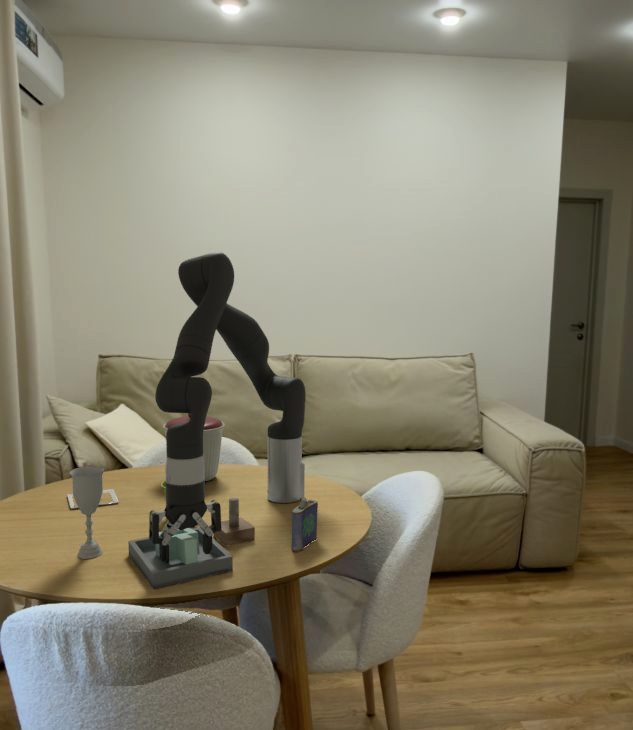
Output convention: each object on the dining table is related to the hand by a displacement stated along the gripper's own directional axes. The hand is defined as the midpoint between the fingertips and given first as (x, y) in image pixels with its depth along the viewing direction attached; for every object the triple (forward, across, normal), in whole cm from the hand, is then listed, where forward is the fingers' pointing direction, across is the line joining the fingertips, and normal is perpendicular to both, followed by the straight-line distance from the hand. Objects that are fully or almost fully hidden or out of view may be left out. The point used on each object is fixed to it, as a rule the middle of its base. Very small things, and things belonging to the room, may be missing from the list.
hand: (186, 557), depth 124 cm
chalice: (+3, +15, -18) cm, 24 cm away
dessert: (+4, +7, -54) cm, 54 cm away
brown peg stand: (+3, -15, -11) cm, 19 cm away
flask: (+3, -27, 0) cm, 27 cm away
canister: (+3, -23, -59) cm, 63 cm away
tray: (+3, 0, -4) cm, 5 cm away
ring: (+1, 0, -3) cm, 3 cm away
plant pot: (+3, -9, -30) cm, 31 cm away
